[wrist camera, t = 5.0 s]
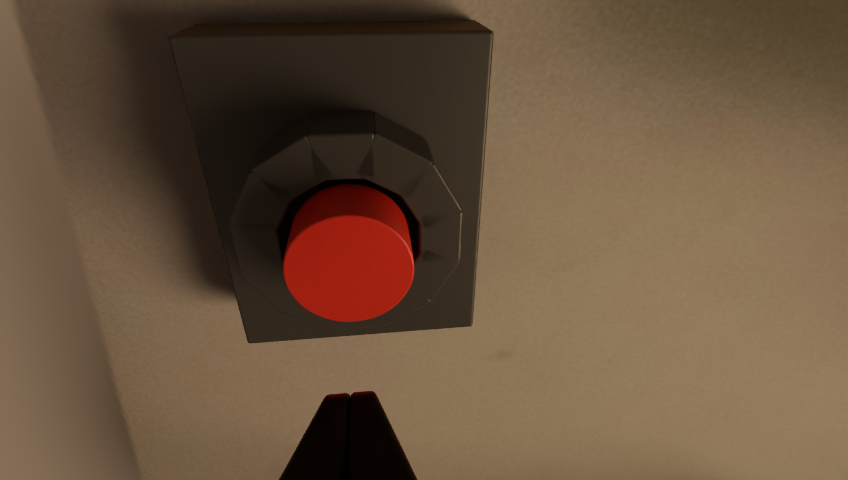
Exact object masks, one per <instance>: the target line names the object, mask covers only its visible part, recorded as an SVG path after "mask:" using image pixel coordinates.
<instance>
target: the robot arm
mask: <svg viewBox="0 0 848 480" xmlns="http://www.w3.org/2000/svg"><path fill="white" fill-rule="evenodd" d="M279 480H417V478H416V476H415V474H414V472H413V470H412V468H411V466H410V463H409V461H408V459H407V457H406V455H405V453H404V451H403V449H402V447H401V445H400V443H399V441H398V439H397V437H396V435H395V432H394V430H393V428H392V426H391V424H390V422H389V420H388V418H387V416H386V414H385V412H384V410H383V408H382V406H381V403H380V401H379V399H378V397H377V395H376V394H375V393H374V392H373V391H365V392H355V393H353V394H352V395H351V397H350V395H349V394H347V393H342V394H330V395H327V396H326V397H325V398H324V399H323V401H322V403H321V405H320V406H319V408H318V410H317V412H316V414H315V416H314V417H313V419H312V421H311V423H310V425H309V426H308V428H307V430H306V432H305V434H304V435H303V437H302V439H301V441H300V443H299V445H298V446H297V448H296V450H295V452H294V454H293V455H292V457H291V459H290V461H289V463H288V464H287V466H286V468H285V470H284V472H283V474H282V475H281V477H280V479H279Z"/></svg>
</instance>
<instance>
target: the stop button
mask: <svg viewBox="0 0 848 480" xmlns="http://www.w3.org/2000/svg"><path fill="white" fill-rule="evenodd" d="M283 276H284V280H285V283H286V285H287V288H288V290H289V291H290V293H291V294H292V296H293V297H294V298H295V299H296V301H297V302H298V303H299V304H301V305H302V306H303V307H304V308H306V309H307V310H308V311H310V312H312V313H314V314H316V315H318V316H321V317H323V318H327V319H330V320H335V321H344V322H355V321H363V320H367V319H371V318H374V317H377V316H379V315H381V314H384V313H385V312H387V311H389V310H390V309H392V308H393V307H394V306H396V305H397V304H398V303H399V302H400V301H401V300H402V299H403V297H404V296H405V295H406V293H407V292H408V290H409V288H410V286H411V283H412V281H413V277H414V258H413V252H412V247H411V241H410V235H409V229H408V225H407V221H406V218H405V216H404V214H403V212H402V211H401V209H400V208H399V206H398V205H397V204H396V203H395V202H394V201H393V200H392V199H391V198H389V197H388V196H387V195H385V194H384V193H382V192H380V191H378V190H376V189H373V188H371V187H367V186H363V185H357V184H342V185H336V186H331V187H328V188H325V189H323V190H321V191H319V192H317V193H315V194H314V195H312V196H311V197H309V198H308V199H307V200H306V201H305V202H304V203H303V204H302V205H301V207H300V208H299V209H298V211H297V213H296V215H295V217H294V220H293V223H292V227H291V231H290V235H289V239H288V243H287V247H286V251H285V255H284V260H283Z"/></svg>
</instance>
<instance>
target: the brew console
mask: <svg viewBox="0 0 848 480" xmlns="http://www.w3.org/2000/svg"><path fill="white" fill-rule="evenodd" d="M169 43H170V47H171V51H172V55H173V59H174V62H175V66H176V70H177V74H178V78H179V81H180V85H181V89H182V93H183V97H184V100H185V104H186V108H187V112H188V116H189V120H190V123H191V127H192V131H193V135H194V139H195V142H196V146H197V150H198V154H199V158H200V162H201V165H202V169H203V173H204V177H205V181H206V184H207V188H208V192H209V196H210V200H211V204H212V207H213V211H214V215H215V219H216V223H217V226H218V230H219V234H220V238H221V242H222V245H223V249H224V253H225V257H226V261H227V265H228V268H229V272H230V276H231V280H232V284H233V287H234V291H235V295H236V299H237V303H238V307H239V310H240V314H241V318H242V322H243V326H244V329H245V333H246V337H247V341H248V343H261V342H274V341H287V340H299V339H312V338H325V337H338V336H351V335H364V334H377V333H390V332H403V331H415V330H428V329H441V328H454V327H467V326H472V323H473V309H474V295H475V281H476V268H477V254H478V240H479V226H480V213H481V199H482V185H483V171H484V158H485V144H486V130H487V116H488V103H489V89H490V75H491V61H492V48H493V31H491V30H490V29H488V28H486V27H485V26H483V25H481V24H480V23H478V22H477V21H475V20H457V21H381V22H305V23H229V24H195V25H193V26H191V27H188V28H186V29H184V30H182V31H180V32H177V33H175V34H173V35H171V36H169ZM342 184H357V185H363V186H367V187H371V188H373V189H376V190H378V191H380V192H382V193H384V194H385V195H387V196H388V197H389V198H391V199H392V200H393V201H394V202H395V203H396V204H397V205H398V206H399V208H400V209H401V211H402V212H403V214H404V216H405V218H406V221H407V225H408V229H409V235H410V241H411V247H412V252H413V258H414V277H413V281H412V283H411V286H410V288H409V290H408V292H407V293H406V295H405V296H404V297H403V299H402V300H401V301H400V302H399V303H398V304H397V305H396V306H394V307H393V308H392V309H390V310H389V311H387V312H385V313H384V314H381V315H379V316H377V317H374V318H371V319H367V320H363V321H355V322H344V321H335V320H330V319H327V318H323V317H321V316H318V315H316V314H314V313H312V312H310V311H308V310H307V309H306V308H304V307H303V306H302V305H301V304H299V303H298V302H297V301H296V299H295V298H294V297H293V296H292V294H291V293H290V291H289V290H288V288H287V285H286V283H285V280H284V276H283V260H284V255H285V251H286V247H287V243H288V239H289V235H290V231H291V227H292V223H293V220H294V217H295V215H296V213H297V211H298V209H299V208H300V207H301V205H302V204H303V203H304V202H305V201H306V200H307V199H308V198H309V197H311V196H312V195H314V194H315V193H317V192H319V191H321V190H323V189H325V188H328V187H331V186H336V185H342Z"/></svg>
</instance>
